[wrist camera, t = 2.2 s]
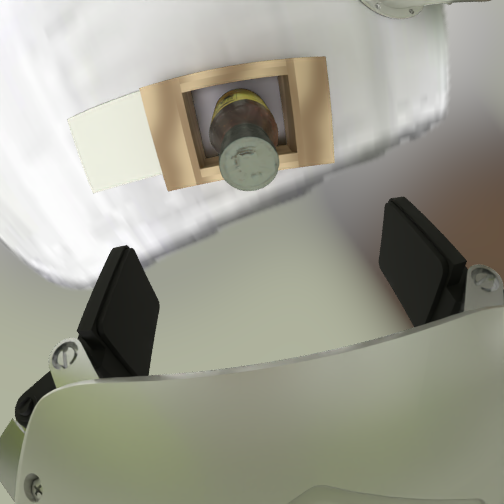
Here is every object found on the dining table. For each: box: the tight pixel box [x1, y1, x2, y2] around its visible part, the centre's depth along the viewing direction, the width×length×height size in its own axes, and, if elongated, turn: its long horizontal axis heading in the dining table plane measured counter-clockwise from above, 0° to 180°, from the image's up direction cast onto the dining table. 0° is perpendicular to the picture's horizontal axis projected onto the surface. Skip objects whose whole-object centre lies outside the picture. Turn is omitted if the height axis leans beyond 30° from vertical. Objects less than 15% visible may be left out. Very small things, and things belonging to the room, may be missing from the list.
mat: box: [67, 91, 163, 193], centre depth 34 cm, size 12×12×1 cm
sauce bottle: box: [209, 89, 279, 191], centre depth 26 cm, size 7×6×20 cm
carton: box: [139, 57, 334, 191], centre depth 31 cm, size 20×13×7 cm, turn 99°
